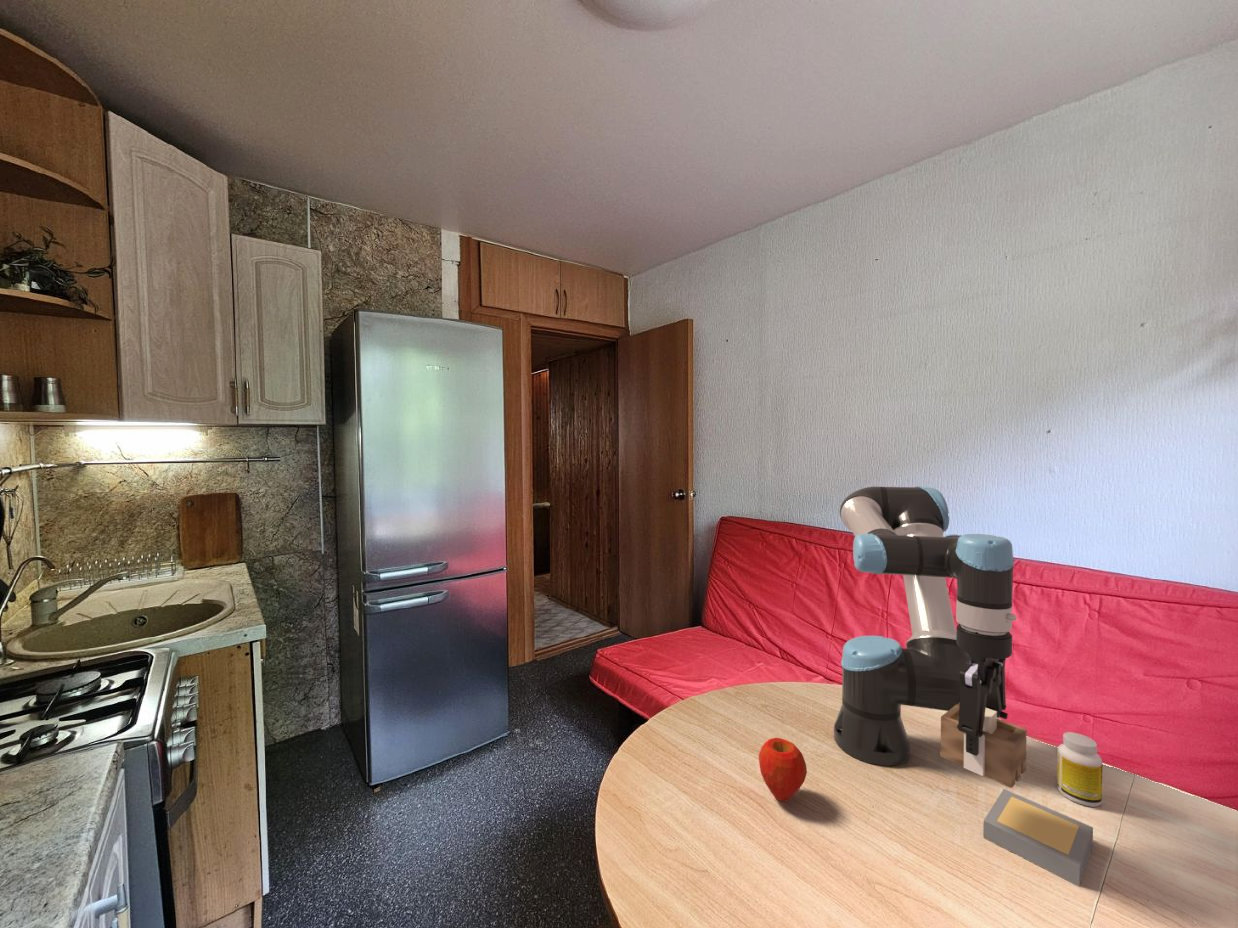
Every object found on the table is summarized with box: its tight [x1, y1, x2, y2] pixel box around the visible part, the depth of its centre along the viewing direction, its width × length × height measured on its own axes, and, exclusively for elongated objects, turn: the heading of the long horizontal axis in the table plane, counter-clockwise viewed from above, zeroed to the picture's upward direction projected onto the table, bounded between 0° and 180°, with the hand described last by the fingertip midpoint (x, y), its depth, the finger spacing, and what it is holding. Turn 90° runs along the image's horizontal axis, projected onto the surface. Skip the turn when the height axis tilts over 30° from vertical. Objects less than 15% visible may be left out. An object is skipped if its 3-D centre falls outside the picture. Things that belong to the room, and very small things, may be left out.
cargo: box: [983, 708, 997, 734], centre depth 83 cm, size 4×4×3 cm
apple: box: [758, 737, 808, 802], centre depth 93 cm, size 9×8×11 cm
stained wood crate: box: [940, 704, 1028, 789], centre depth 83 cm, size 10×7×7 cm
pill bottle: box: [1056, 731, 1103, 807], centre depth 92 cm, size 6×6×11 cm
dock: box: [982, 788, 1094, 887], centre depth 82 cm, size 12×12×3 cm
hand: (982, 761), depth 83 cm, fingers closed on stained wood crate, 7 cm apart
